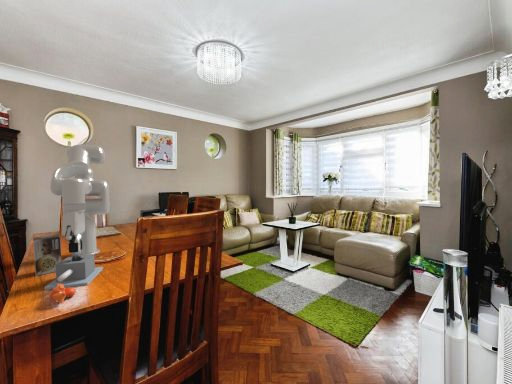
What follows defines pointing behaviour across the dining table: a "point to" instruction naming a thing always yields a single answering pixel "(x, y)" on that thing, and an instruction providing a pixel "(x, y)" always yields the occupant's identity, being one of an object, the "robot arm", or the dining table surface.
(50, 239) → the coffee box
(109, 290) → the dining table surface
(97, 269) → the grey socket block
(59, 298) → the orange toy bird
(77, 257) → the key peg
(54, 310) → the dining table surface
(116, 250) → the dining table surface
